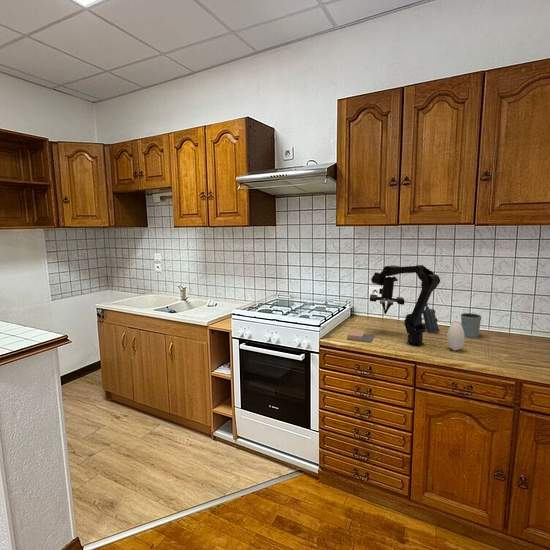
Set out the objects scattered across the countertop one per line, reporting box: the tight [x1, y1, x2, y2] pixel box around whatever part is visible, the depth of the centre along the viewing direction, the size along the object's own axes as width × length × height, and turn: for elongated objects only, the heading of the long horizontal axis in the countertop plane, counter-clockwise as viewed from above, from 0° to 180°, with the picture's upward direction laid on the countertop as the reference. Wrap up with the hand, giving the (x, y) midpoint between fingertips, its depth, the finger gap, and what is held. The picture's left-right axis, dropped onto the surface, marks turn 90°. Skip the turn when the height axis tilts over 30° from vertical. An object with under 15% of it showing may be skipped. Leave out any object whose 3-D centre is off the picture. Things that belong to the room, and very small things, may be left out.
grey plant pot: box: [460, 312, 482, 339], centre depth 197 cm, size 10×10×12 cm
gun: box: [421, 303, 441, 333], centre depth 207 cm, size 3×17×15 cm
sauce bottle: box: [446, 315, 465, 351], centre depth 174 cm, size 8×8×18 cm
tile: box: [347, 329, 366, 340], centre depth 197 cm, size 2×10×8 cm
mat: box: [346, 333, 375, 344], centre depth 196 cm, size 13×12×1 cm
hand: (385, 313), depth 200 cm, fingers closed
